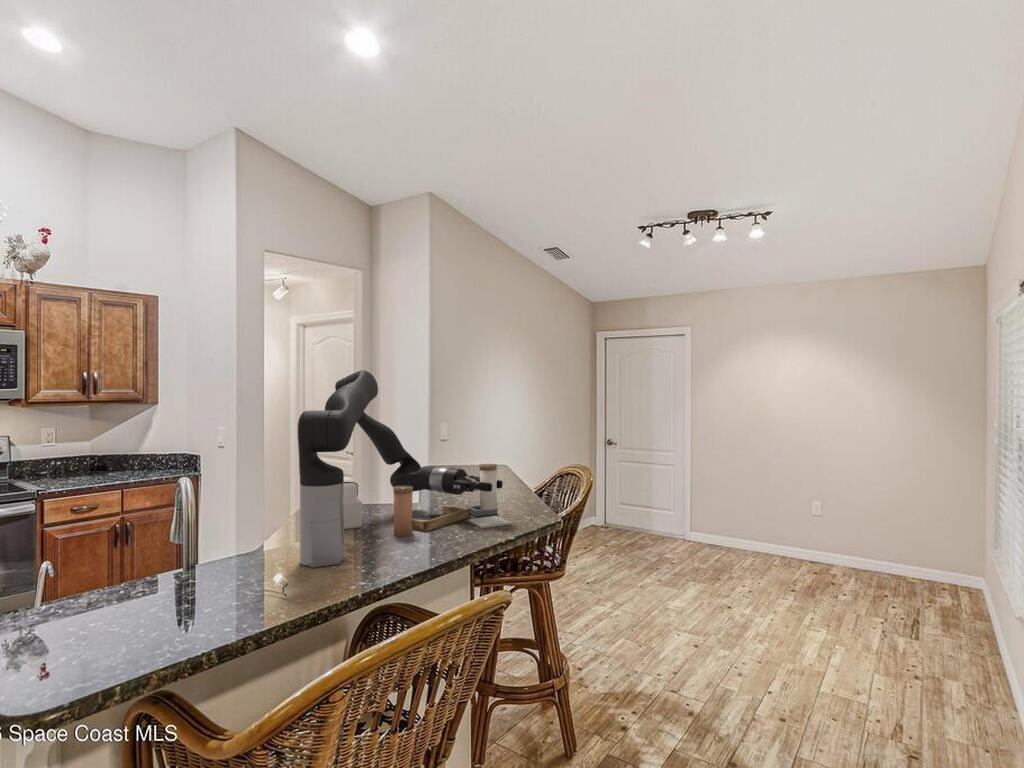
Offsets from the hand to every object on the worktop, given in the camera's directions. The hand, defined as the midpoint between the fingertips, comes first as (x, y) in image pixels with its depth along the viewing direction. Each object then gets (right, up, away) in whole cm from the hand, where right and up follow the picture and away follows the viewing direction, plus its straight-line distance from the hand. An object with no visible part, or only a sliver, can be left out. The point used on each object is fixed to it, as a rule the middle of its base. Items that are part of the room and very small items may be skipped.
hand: (496, 486), depth 162 cm
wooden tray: (-18, -11, +3) cm, 21 cm away
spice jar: (-2, -6, +1) cm, 7 cm away
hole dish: (-5, -11, +12) cm, 17 cm away
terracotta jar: (-24, -11, -11) cm, 28 cm away
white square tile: (-2, -11, +1) cm, 11 cm away
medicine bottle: (-41, -11, -2) cm, 43 cm away
